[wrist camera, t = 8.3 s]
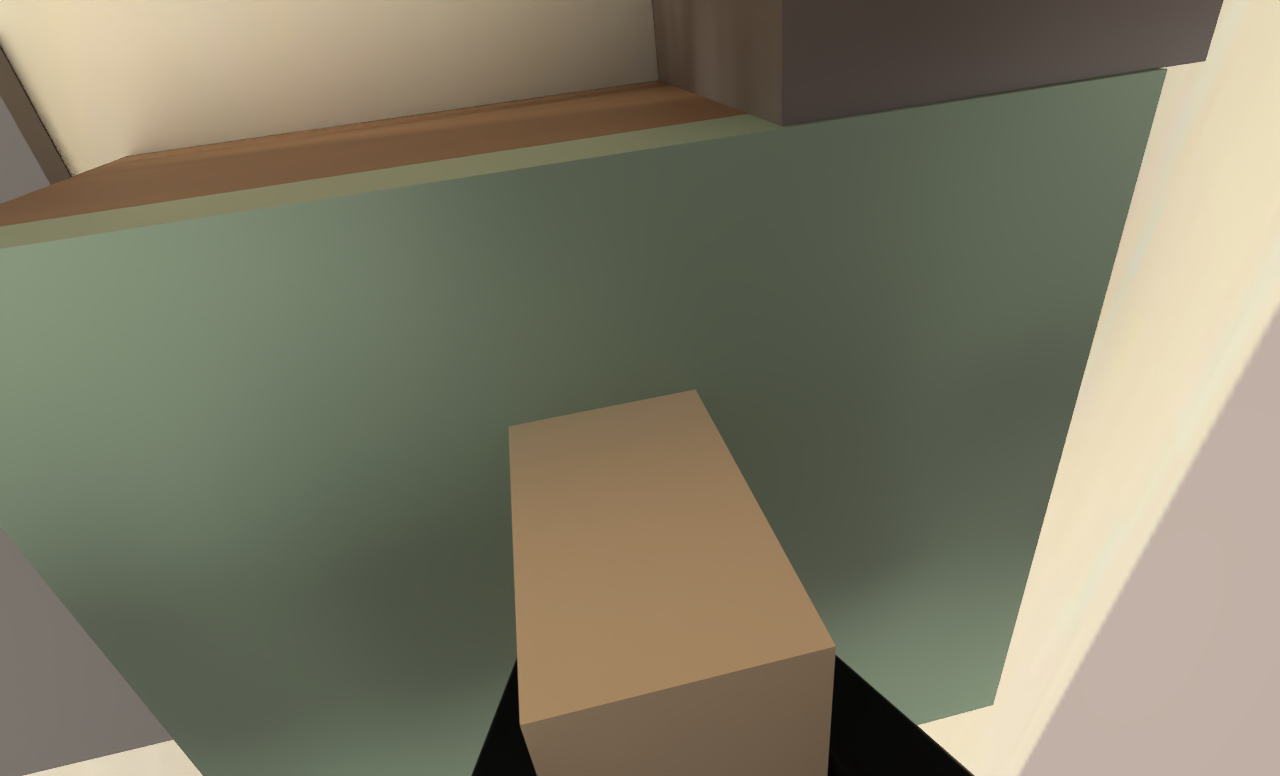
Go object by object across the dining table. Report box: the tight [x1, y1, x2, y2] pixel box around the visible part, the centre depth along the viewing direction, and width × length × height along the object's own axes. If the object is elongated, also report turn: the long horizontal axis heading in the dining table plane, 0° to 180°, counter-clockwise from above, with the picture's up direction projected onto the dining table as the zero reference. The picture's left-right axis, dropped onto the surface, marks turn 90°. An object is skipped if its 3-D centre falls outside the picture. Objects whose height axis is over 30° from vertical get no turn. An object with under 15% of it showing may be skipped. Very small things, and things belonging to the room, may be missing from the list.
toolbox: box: [0, 0, 1223, 226], centre depth 12 cm, size 15×15×6 cm
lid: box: [0, 68, 1167, 776], centre depth 9 cm, size 12×14×5 cm
